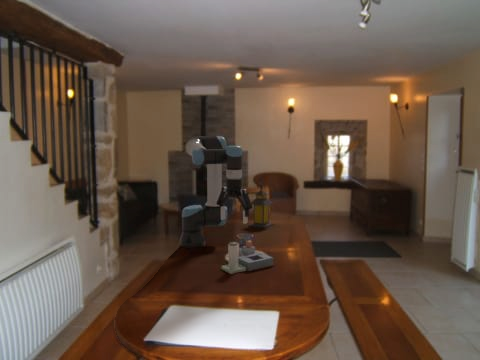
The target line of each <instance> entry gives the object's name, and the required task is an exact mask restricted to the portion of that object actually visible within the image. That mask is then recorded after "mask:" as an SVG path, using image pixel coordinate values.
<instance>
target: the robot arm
mask: <svg viewBox="0 0 480 360" xmlns="http://www.w3.org/2000/svg"><path fill="white" fill-rule="evenodd" d="M184 149H185V153H187V154H188V155H189V156H191V161H192V164H194V165H195V166H196V165H199V166H202V165H206V166H207V167H206V170H207V171H206V172H207V173H206V176H207V177H206V179H207V187H206V188H207V190H206V191H207V193H206V194H207V201H206V203H205V204H204V207H203V206H202V205H201V204H192V205H188V206H186V207H184V208H183V209H182V211H181V218H182V221H181V222H182V223H181V225H182V231H181V232H182V233H181V236H180V239H179V246H180V247H182V248H187V249H188V248H189V249H195V248H196V249H197V248H201V247H204V246H205V245H206V240H205V237H204V233H203V228H205V227H206V228H207V227H220V226H221V227H222V226H224V225H225V224H226V222H227V219H228V207H227V206H225V205H226V203H228V200H229V199H230V198H234V199H235V198H236V199H237V200H238V202H239V203H240V205H241V206H242V208H243V210H242V220H243V221H242V224H243V225H245V224H249V223H248V222H249V221H248V220H249V219H248V218H249V216H250V210H251V209H254V206H253V205H252V204H251V202H252V201H251V200H250V197H249V194H248V190H247V188H244V189H243V188H242V185H243V179H242V178H243V148H242V146H240V145H227V141H226V138H225V137H223V136H220V135H209V136H207V135H205V136H204V135H203V136H200V135H197V136H193V137H192V138H190V139H188V140H187V141H186V143H185V146H184ZM222 165H225V167H226V169H225V171H226V173H225V176H226V179H225V182H226V183H225V185H226V186H222V184H223V183H222V182H223V180H222V175H223V174H222V172H223V170H222Z"/></svg>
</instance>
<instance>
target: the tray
mask: <svg viewBox="0 0 480 360" xmlns="http://www.w3.org/2000/svg"><path fill="white" fill-rule="evenodd" d="M221 270H222V271H224V272H226V273H228V274H229V275H234V274H237V273H240V272H242V273H243V272H246V271H247V270H246V267H244V266H242V265H240V264H239V269H235V270H230V269H228V264H225V265H224V264H223V265H221Z"/></svg>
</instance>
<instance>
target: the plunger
mask: <svg viewBox="0 0 480 360" xmlns="http://www.w3.org/2000/svg"><path fill="white" fill-rule="evenodd" d="M252 242H253V240H252V241H246V247H247V248H250V247H252V246H253V243H252Z"/></svg>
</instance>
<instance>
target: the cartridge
mask: <svg viewBox="0 0 480 360" xmlns="http://www.w3.org/2000/svg"><path fill="white" fill-rule="evenodd" d="M238 243H239V242H236V241H231V242H228V244H227V246H228V247H227V248H228V249H227V250H228V251H227V253H228V256H227V257H228V260H227V261H228V263H227V265H228V269H230V270H235V269H239V251H238Z"/></svg>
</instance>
